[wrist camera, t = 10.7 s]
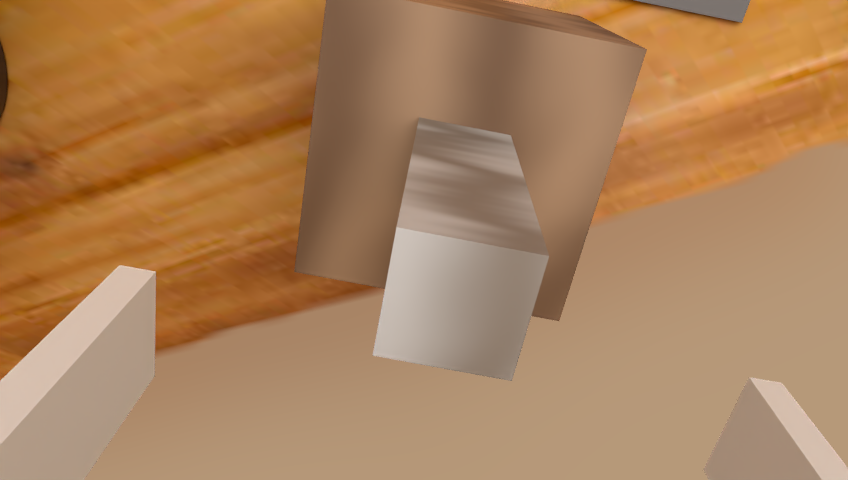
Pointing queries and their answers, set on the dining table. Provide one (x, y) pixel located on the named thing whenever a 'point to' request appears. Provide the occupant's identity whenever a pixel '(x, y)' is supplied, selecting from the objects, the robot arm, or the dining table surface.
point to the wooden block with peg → (459, 167)
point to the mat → (708, 7)
